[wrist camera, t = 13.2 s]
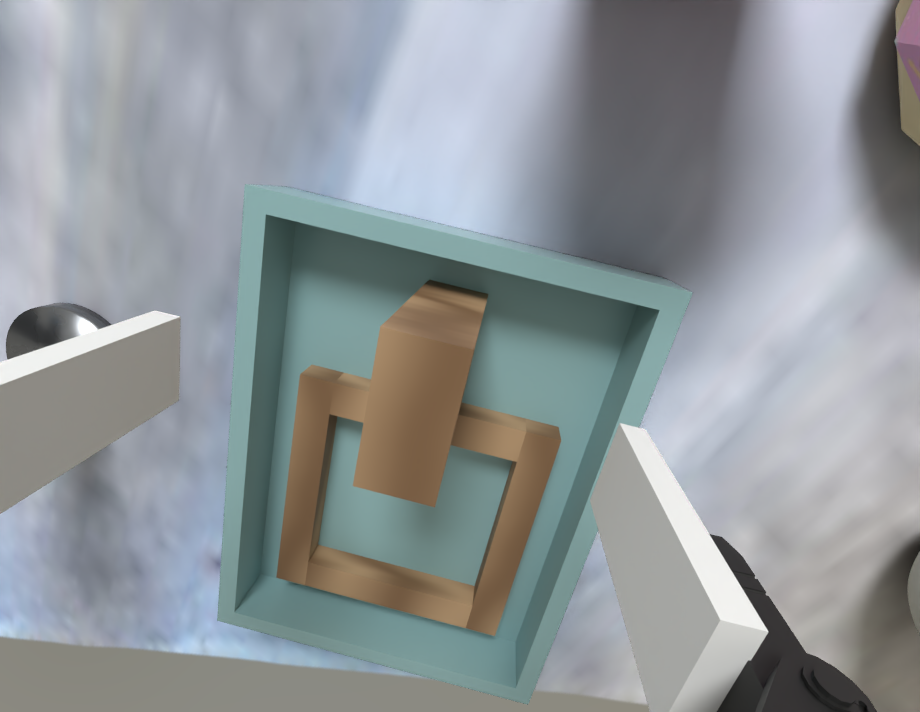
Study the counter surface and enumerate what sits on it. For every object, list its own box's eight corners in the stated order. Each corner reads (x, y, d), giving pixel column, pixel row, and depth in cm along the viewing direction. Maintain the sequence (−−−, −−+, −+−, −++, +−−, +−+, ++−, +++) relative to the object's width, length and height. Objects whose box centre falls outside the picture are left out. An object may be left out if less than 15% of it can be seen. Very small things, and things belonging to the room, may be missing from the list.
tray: (251, 572, 31) (217, 620, 28) (286, 186, 23) (244, 184, 19) (526, 646, 31) (527, 704, 27) (664, 277, 23) (693, 292, 19)
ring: (287, 559, 30) (197, 704, 21) (325, 253, 23) (217, 286, 15) (495, 614, 29) (488, 784, 21) (594, 320, 23) (642, 392, 14)
